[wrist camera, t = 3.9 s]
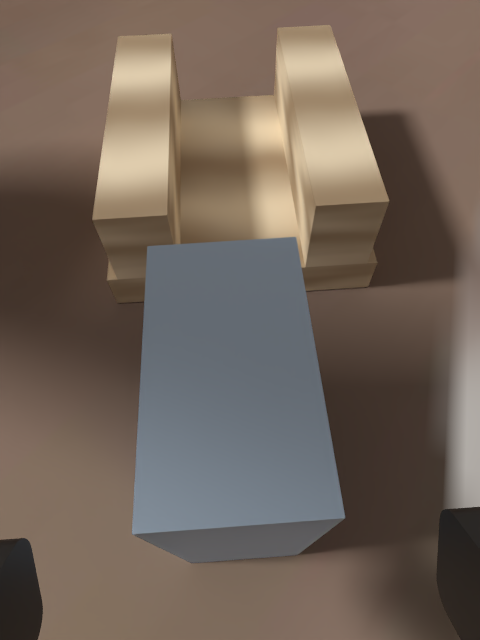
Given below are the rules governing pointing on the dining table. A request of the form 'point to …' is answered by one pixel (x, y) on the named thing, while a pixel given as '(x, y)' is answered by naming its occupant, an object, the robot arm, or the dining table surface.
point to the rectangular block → (231, 406)
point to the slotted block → (238, 164)
